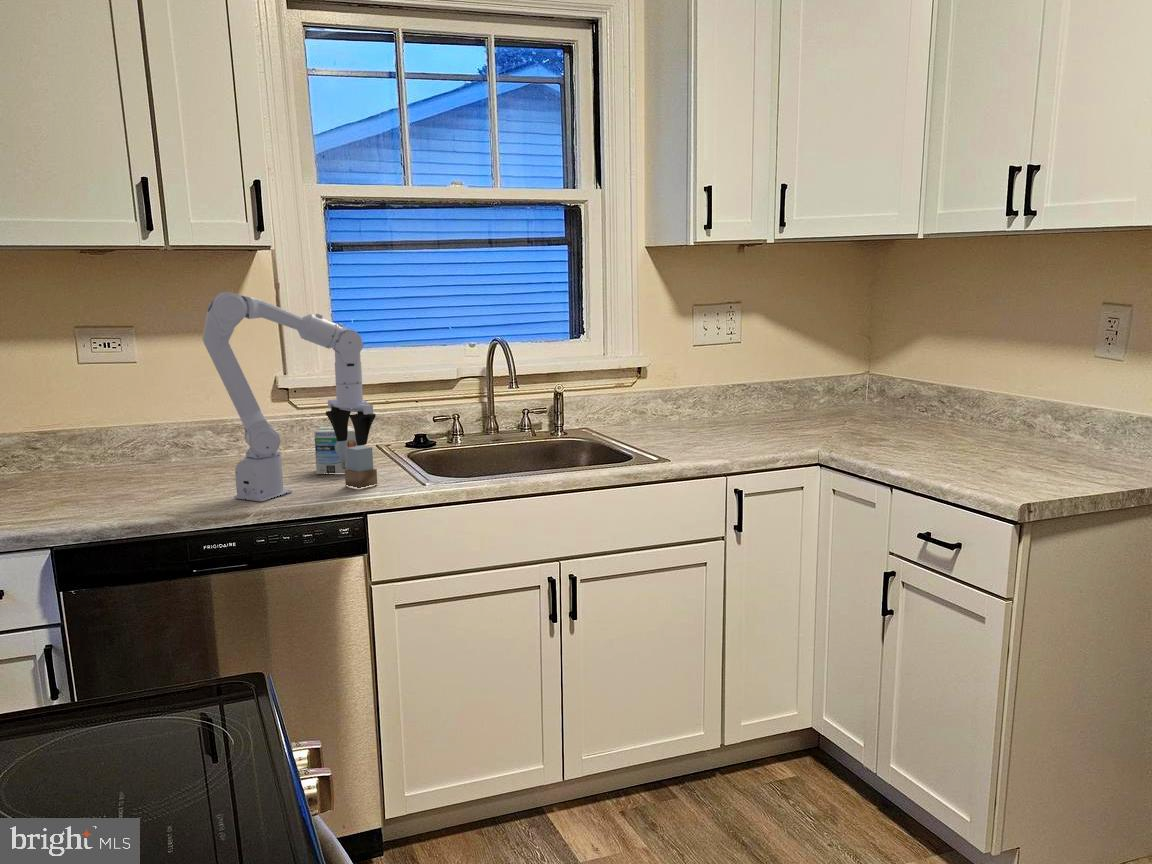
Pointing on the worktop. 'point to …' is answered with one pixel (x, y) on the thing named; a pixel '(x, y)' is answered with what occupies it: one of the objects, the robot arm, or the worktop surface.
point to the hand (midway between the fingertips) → (351, 442)
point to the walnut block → (361, 478)
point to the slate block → (360, 458)
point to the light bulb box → (332, 450)
